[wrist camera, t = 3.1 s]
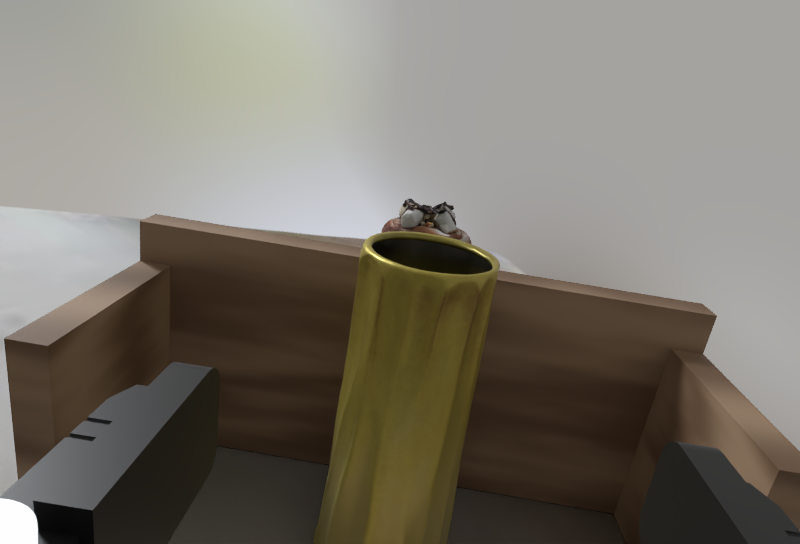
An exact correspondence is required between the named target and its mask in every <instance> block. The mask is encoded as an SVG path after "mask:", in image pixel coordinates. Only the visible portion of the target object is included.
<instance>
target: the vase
mask: <svg viewBox="0 0 800 544" xmlns="http://www.w3.org/2000/svg"><path fill="white" fill-rule="evenodd" d="M499 269H500V264H499V261H498V260H497V259H496V258H495V257H494V256H493V255H492V254H490V253H489V252H487V251H485V250H483V249H481V248H479V247H476V246H474V245H472V244H469V243H466V242H463V241H460V240H457V239H453V238H449V237H444V236H439V235H433V234H427V233H420V232H406V231H393V232H385V233H380V234H376V235H373V236H371V237H369V238H368V239H367V240H366V241H365V242H364V244H363V246H362V249H361V252H360V259H359V267H358V277H357V284H356V291H355V298H354V305H353V312H352V319H351V327H350V336H349V344H348V351H347V357H346V363H345V369H344V375H343V381H342V386H341V391H340V396H339V402H338V408H337V414H336V420H335V428H334V435H333V442H332V449H331V455H330V464H329V473H328V477H327V481H326V486H325V491H324V495H323V500H322V505H321V509H320V515H319V520H318V523H317V526H316V528H315V531H314V544H447V540H448V533H449V529H450V525H451V519H452V513H453V506H454V501H455V494H456V487H457V481H458V474H459V467H460V460H461V455H462V450H463V445H464V440H465V435H466V430H467V425H468V420H469V415H470V409H471V405H472V400H473V395H474V391H475V386H476V381H477V377H478V372H479V367H480V361H481V356H482V351H483V347H484V342H485V338H486V333H487V328H488V322H489V317H490V311H491V306H492V301H493V295H494V290H495V285H496V281H497V278H498V273H499Z"/></svg>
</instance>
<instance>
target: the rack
mask: <svg viewBox="0 0 800 544" xmlns="http://www.w3.org/2000/svg"><path fill="white" fill-rule="evenodd" d="M361 249H362V248H358V247H352V246H346V245H340V244H334V243H328V242H322V241H316V240H310V239H303V238H297V237H291V236H285V235H279V234H273V233H267V232H261V231H255V230H249V229H243V228H236V227H230V226H224V225H218V224H212V223H206V222H200V221H194V220H188V219H181V218H175V217H169V216H163V215H157V214H155V215H153V216H151V217H149V218H146V219H144V220H141V221H140V261H139V262H137V263H135V264H134V265H132V266H130V267H128V268H127V269H125V270H123V271H121V272H120V273H118V274H116V275H114V276H113V277H111V278H109V279H107V280H106V281H104V282H102V283H100V284H99V285H97V286H95V287H93V288H92V289H90V290H88V291H86V292H85V293H83V294H81V295H79V296H78V297H76V298H74V299H72V300H71V301H69V302H67V303H65V304H64V305H62V306H60V307H58V308H57V309H55V310H53V311H51V312H50V313H48V314H46V315H44V316H43V317H41V318H39V319H37V320H36V321H34V322H32V323H30V324H29V325H27V326H25V327H23V328H22V329H20V330H18V331H16V332H15V333H13V334H11V335H9V336H8V337H6V338H4V342H5V352H6V362H7V372H8V382H9V392H10V402H11V412H12V422H13V432H14V442H15V452H16V462H17V473H18V480H19V479H20V478H21V477H22V476H23V475H25V474H26V473H27V472H28V471H29V470H30V469H31V468H32V467H33V466H34V465H35V464H37V463H38V462H39V461H40V460H41V459H42V458H43V457H44V456H45V455H46V454H48V453H49V452H50V451H51V450H52V449H53V448H54V447H55V446H56V445H57V444H59V443H60V442H61V441H62V440H63V439H64V438H65V437H67V438H68V437H69V436H70V433H71V432H72V431H73V430H74V429H75V428H76V427H77V426H78V425H79V424H81V423H82V422H83V421H87V417H88V416H89V415H90V414H91V413H93V412H94V411H95V410H96V409H97V408H98V407H99V406H100V405H101V404H102V403H104V402H105V401H106V400H107V399H108V398H110V397H112V396H114V395H116V394H118V393H120V392H122V391H125V390H127V389H129V388H131V387H133V386H135V385H143V386H149V385H150V384H151V383H152V382H153V381H154V380H155V379H156V378H157V377H158V376H159V375H160V374H161V373H162V372H163V371H164V370H165V369H166V368H167V367H168V366H169V365H170V364H171V363H173V362H180V363H187V364H193V365H200V366H206V367H212V368H216V369H217V370H218V372H219V378H220V385H219V413H218V440H217V446H223V447H229V448H234V449H240V450H246V451H252V452H258V453H263V454H269V455H275V456H281V457H287V458H293V459H298V460H304V461H310V462H316V463H322V464H327V465H329V464H330V455H331V449H332V442H333V435H334V428H335V420H336V414H337V408H338V402H339V396H340V391H341V386H342V381H343V375H344V369H345V363H346V357H347V351H348V344H349V336H350V327H351V319H352V312H353V305H354V298H355V291H356V284H357V277H358V267H359V259H360V252H361ZM716 317H717V316H716V315H715V314H714V313H713V312H711V311H710V310H709V309H708V308H707V307H705V306H704V305H703V304H699V303H693V302H687V301H681V300H675V299H669V298H663V297H657V296H651V295H645V294H639V293H632V292H626V291H620V290H614V289H608V288H602V287H596V286H590V285H584V284H578V283H571V282H565V281H559V280H553V279H547V278H540V277H535V276H529V275H523V274H517V273H511V272H505V271H499V273H498V278H497V281H496V285H495V290H494V295H493V301H492V306H491V311H490V317H489V322H488V328H487V333H486V338H485V342H484V347H483V351H482V356H481V361H480V367H479V372H478V377H477V381H476V386H475V391H474V395H473V400H472V405H471V409H470V415H469V420H468V425H467V430H466V435H465V440H464V445H463V450H462V455H461V460H460V467H459V474H458V481H457V487H461V488H467V489H473V490H479V491H485V492H490V493H496V494H502V495H508V496H514V497H519V498H525V499H531V500H537V501H543V502H549V503H554V504H560V505H566V506H572V507H578V508H583V509H589V510H595V511H601V512H607V513H613V514H614V515H615V518H616V520H617V522H618V525H619V527H620V530H621V532H622V535H623V537H624V540H625V542H626V544H641V541H640V534H639V520H640V513H641V510H642V507H643V504H644V501H645V498H646V495H647V492H648V489H649V486H650V483H651V480H652V477H653V474H654V471H655V469H656V466H657V463H658V460H659V457H660V454H661V451H662V449H663V447H664V446H665V445H666V444H667V443H668V442H670V441H676V442H682V443H688V444H695V445H701V446H707V447H714V448H717V449H719V450H720V451H721V452H722V453H723V454H724V455H725V456H726V458H727V459H728V460H729V461H730V463H731V464H732V465H733V467H734V468H735V469H736V470H737V472H738V473H739V474H740V475H741V477H742V478H743V479H744V480H745V482H747V483H750V484H751V485H753V486H754V487H755V488H756V489H758V490H759V491H760V492H762V493H763V494H764V495H765V496H767V497H768V498H769V499H770V500H772V501H773V502H774V503H776V504H777V505H778V506H779V507H780V508H781V509H782V510H783V511H784V512H785V514H786V515H787V516H788V517H789V518H790V520H791V521H792V522H793V523H794V525H795V526H796V527H797V528H798V529H799V530H800V451H799V450H797V448H796V447H795V446H794V445H793V444H791V442H790V441H788V439H787V438H786V437H784V435H783V434H782V433H781V432H780V431H779V430H778V429H777V428H776V427H775V426H774V425H773V424H772V423H771V422H770V421H769V420H768V419H767V418H766V417H765V416H764V415H763V414H762V413H761V412H760V411H759V410H758V409H757V408H756V407H755V406H754V405H753V404H752V403H751V402H750V401H749V400H748V399H747V398H746V397H745V396H744V395H743V394H742V393H741V392H740V391H739V390H738V389H737V388H736V387H735V386H734V385H733V384H732V383H731V382H730V381H729V380H728V379H727V378H726V377H725V376H724V375H723V374H722V373H721V372H720V371H719V370H718V369H717V368H716V367H715V366H714V365H713V364H712V363H711V362H710V361H709V360H708V359H707V358H706V357H705V356H704V355H703V352H704V349H705V347H706V344H707V341H708V338H709V335H710V333H711V331H712V328H713V325H714V322H715V320H716Z"/></svg>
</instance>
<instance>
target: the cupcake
mask: <svg viewBox="0 0 800 544" xmlns="http://www.w3.org/2000/svg"><path fill="white" fill-rule="evenodd" d="M453 209H454V208H453V206H450V205H447V204H446V202H444V203H442V204H439V205H437V206H435V207H433V208H432V207H431V206H426V205H422V206H421V205H419V204H418V203H416V202H414V201H413V200H412V199H408V200H405V203H404V204H403V206H402V207H401V209H400V214H399V215H400V217H399V218H394V219H391V220H390V221H388V222H387V223H386V224H385V225H384V227H383V229H382V233H385V232H393V231H406V232H420V233H427V234H433V235H439V236H444V237H449V238H453V239H457V240H460V241H463V242H466V243H469V244H471V240H470V237H469V236H468V235H467V234H466V233H465V232H464V231H462V230H460V229H458V228H457V227H456V221H455V214H454V213H453V212H452V211H451V210H453Z"/></svg>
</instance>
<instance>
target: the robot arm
mask: <svg viewBox="0 0 800 544" xmlns="http://www.w3.org/2000/svg"><path fill="white" fill-rule="evenodd" d="M219 385H220V378H219V372H218V370H217V369H216V368H212V367H206V366H200V365H193V364H187V363H180V362H173V363H171V364H170V365H169V366H168V367H167V368H166V369H165V370H164V371H163V372H162V373H161V374H160V375H159V376H158V377H157V378H156V379H155V380H154V381H153V382H152V383H151V384H150V385H149V386H143V385H135V386H133V387H131V388H129V389H127V390H125V391H122V392H120V393H118V394H116V395H114V396H112V397H110V398H108V399H107V400H106V401H105V402H104V403H102V404H101V405H100V406H99V407H98V408H97V409H96V410H95V411H94V412H93V413H91V414H90V415H89V416H88V417H87V421H83V422H82V423H81V424H79V425H78V426H77V427H76V428H75V429H74V430H73V431H72V432H71V433H70V436H69V437H68V438H67V437H65V438H64V439H63V440H62V441H61V442H60V443H59V444H57V445H56V446H55V447H54V448H53V449H52V450H51V451H50V452H49V453H48V454H46V455H45V456H44V457H43V458H42V459H41V460H40V461H39V462H38V463H37V464H35V465H34V466H33V467H32V468H31V469H30V470H29V471H28V472H27V473H26V474H25V475H23V476H22V477H21V478H20V479H19V480H18V481H17V482H16V483H15V484H14V485H12V486H11V487H10V488H9V489H8V490H7V491H6V492H5V493H4V494H3V495H1V496H0V544H167V543H168V541H169V540H170V538H171V536H172V535H173V533H174V531H175V530H176V528H177V526H178V525H179V523H180V521H181V520H182V518H183V517H184V515H185V513H186V512H187V510H188V508H189V507H190V505H191V503H192V502H193V500H194V499H195V497H196V495H197V494H198V492H199V490H200V489H201V487H202V485H203V484H204V482H205V480H206V479H207V477H208V475H209V473H210V470H211V468H212V465H213V462H214V458H215V454H216V449H217V440H218V413H219ZM639 534H640V541H641V544H800V531H799V529H798V528H797V527H796V526H795V525H794V523H793V522H792V521H791V520H790V518H789V517H788V516H787V515H786V514H785V512H784V511H783V510H782V509H781V508H780V507H779V506H778V505H777V504H776V503H774V502H773V501H772V500H770V499H769V498H768V497H767V496H765V495H764V494H763V493H762V492H760V491H759V490H758V489H756V488H755V487H754V486H753V485H751V484H750V483H747V482H745V480H744V479H743V478H742V477H741V475H740V474H739V473H738V472H737V470H736V469H735V468H734V467H733V465H732V464H731V463H730V461H729V460H728V459H727V458H726V456H725V455H724V454H723V453H722V452H721V451H720V450H719V449H717V448H714V447H707V446H701V445H695V444H688V443H682V442H676V441H670V442H668V443H667V444H666V445H665V446H664V447H663V449H662V451H661V454H660V457H659V460H658V463H657V466H656V469H655V471H654V474H653V477H652V480H651V483H650V486H649V489H648V492H647V495H646V498H645V501H644V504H643V507H642V510H641V513H640V520H639Z"/></svg>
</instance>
